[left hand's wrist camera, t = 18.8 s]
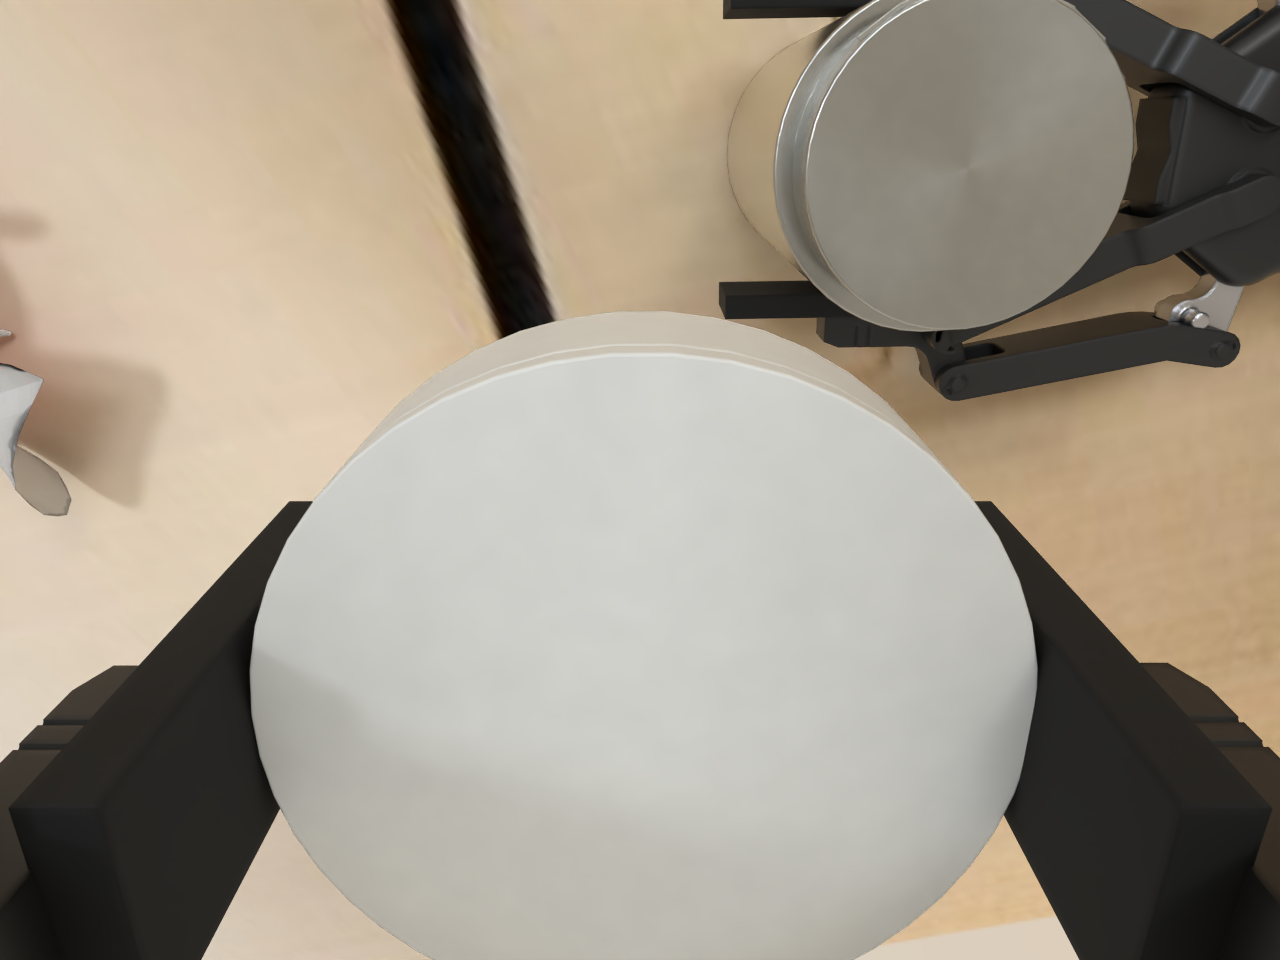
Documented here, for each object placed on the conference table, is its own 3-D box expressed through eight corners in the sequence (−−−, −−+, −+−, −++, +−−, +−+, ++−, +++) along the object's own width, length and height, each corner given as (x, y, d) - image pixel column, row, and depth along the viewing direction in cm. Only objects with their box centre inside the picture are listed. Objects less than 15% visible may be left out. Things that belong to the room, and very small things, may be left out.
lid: (170, 557, 12) (76, 645, 10) (752, 151, 10) (779, 160, 8) (567, 968, 15) (556, 1100, 13) (1082, 710, 13) (1162, 818, 11)
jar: (983, 172, 35) (1217, 205, 20) (803, 302, 37) (905, 415, 22) (869, -21, 32) (1046, -136, 18) (684, 128, 34) (712, 130, 20)
